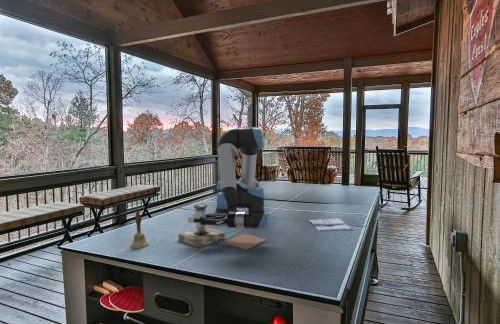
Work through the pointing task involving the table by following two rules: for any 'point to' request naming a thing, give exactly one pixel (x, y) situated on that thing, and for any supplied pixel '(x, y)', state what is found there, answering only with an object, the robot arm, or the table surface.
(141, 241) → the hand bell
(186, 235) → the frame
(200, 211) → the aluminium plug
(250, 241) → the terracotta mat
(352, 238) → the table surface
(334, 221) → the white folded cloth
